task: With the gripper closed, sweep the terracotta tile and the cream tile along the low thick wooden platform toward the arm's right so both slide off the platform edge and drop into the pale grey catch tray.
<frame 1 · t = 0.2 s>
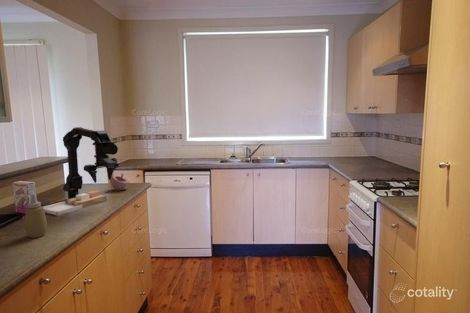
hand: (102, 181, 173), 14 cm above the table, fingers open, 9 cm apart
candy bar box: (26, 212, 164), on the table
tile terracotta: (93, 196, 185), point 3 cm above the table, touching thick wooden platform
tray: (61, 209, 168), on the table
thick wooden platform: (87, 202, 181), on the table
tile cream: (82, 198, 179), point 3 cm above the table, touching thick wooden platform
squeeze bottle: (37, 235, 132), on the table
mortar and pestle: (120, 190, 212), on the table
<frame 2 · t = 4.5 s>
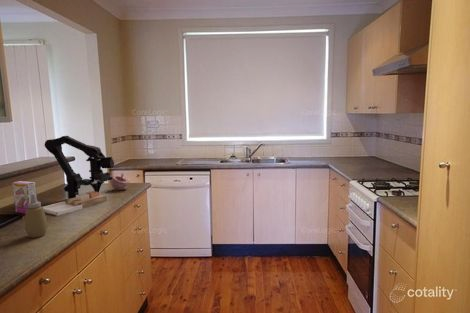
hand: (97, 193, 187), 4 cm above the table, fingers closed
tile terracotta: (92, 196, 184), point 3 cm above the table, touching thick wooden platform, gripper
everything else where it was.
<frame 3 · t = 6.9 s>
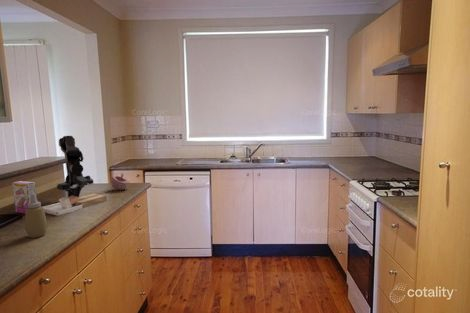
hand: (77, 198, 175), 4 cm above the table, fingers closed
tile terracotta: (72, 202, 173), point 3 cm above the table, tilted 18°, touching thick wooden platform
tile cream: (67, 201, 170), point 4 cm above the table, tilted 105°, touching tray
everything else where it was.
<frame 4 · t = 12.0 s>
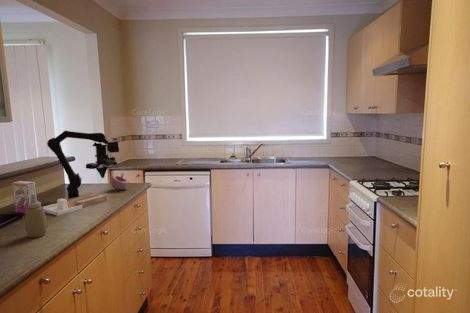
hand: (102, 177, 193), 12 cm above the table, fingers closed
tile terracotta: (69, 206, 172), point 1 cm above the table, touching tray
tile cream: (64, 203, 169), point 3 cm above the table, tilted 90°, touching tray
everything else where it was.
at the end: tile cream inside the target area (2.9 cm from its centre), point 3.1 cm above the table; tile terracotta inside the target area (5.6 cm from its centre), point 0.6 cm above the table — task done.
